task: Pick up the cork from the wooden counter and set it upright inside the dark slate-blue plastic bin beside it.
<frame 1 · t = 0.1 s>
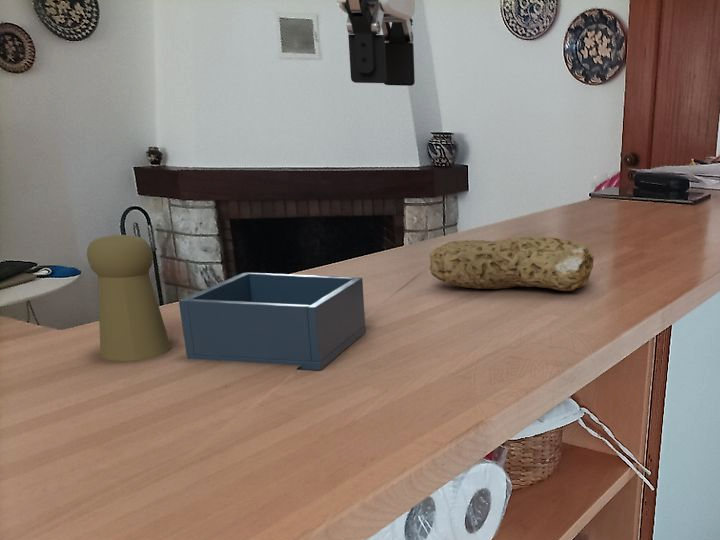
hand: (384, 84, 76), 24 cm above the counter, tool pointing down, fingers open, 9 cm apart
cork: (137, 357, 73), on the counter
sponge: (510, 289, 102), on the counter
bin: (282, 346, 76), on the counter
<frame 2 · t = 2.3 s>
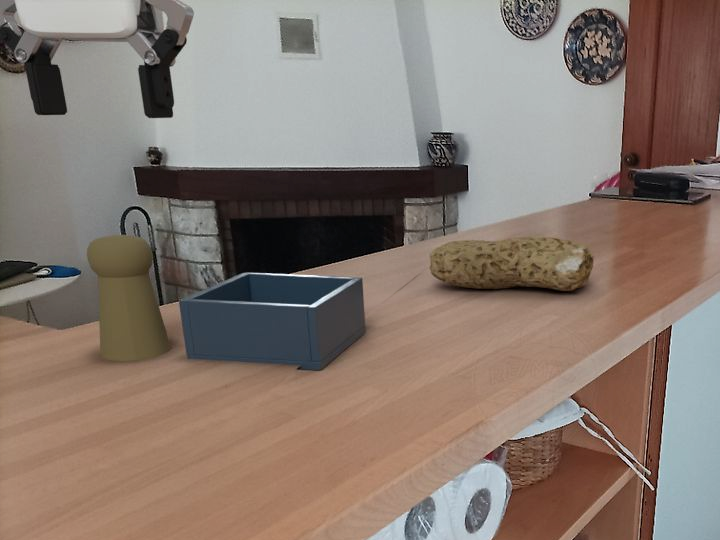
hand: (105, 116, 66), 21 cm above the counter, tool pointing down, fingers open, 9 cm apart
nothing on the counter moved.
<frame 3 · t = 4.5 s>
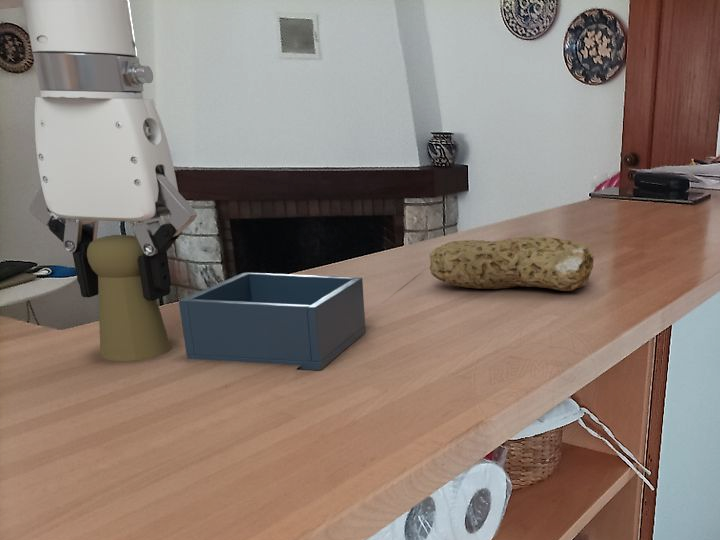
hand: (126, 293, 71), 6 cm above the counter, tool pointing down, fingers closed on cork, 5 cm apart
cork: (137, 357, 73), on the counter, touching gripper
everything else where it was.
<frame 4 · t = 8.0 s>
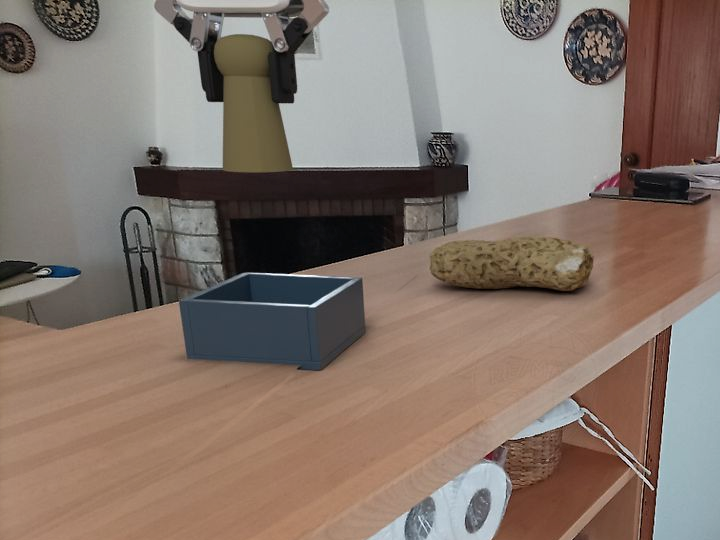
hand: (251, 100, 68), 22 cm above the counter, tool pointing down, fingers closed on cork, 5 cm apart
cork: (258, 171, 70), point 16 cm above the counter, touching gripper
everything else where it was.
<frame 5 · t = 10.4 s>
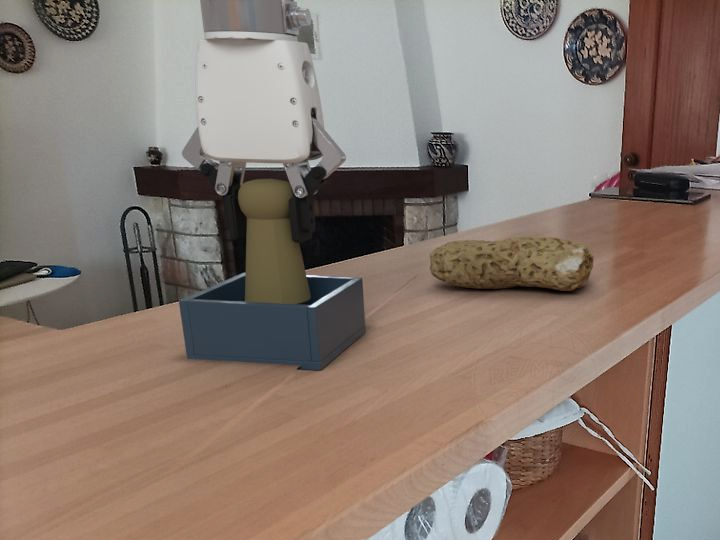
hand: (272, 237, 72), 11 cm above the counter, tool pointing down, fingers closed on cork, 5 cm apart
cork: (278, 300, 75), point 5 cm above the counter, touching gripper
everything else where it was.
when the fingers open (7 cm above the counter, at t = 11.9 s): cork stays where it is, resting on bin.
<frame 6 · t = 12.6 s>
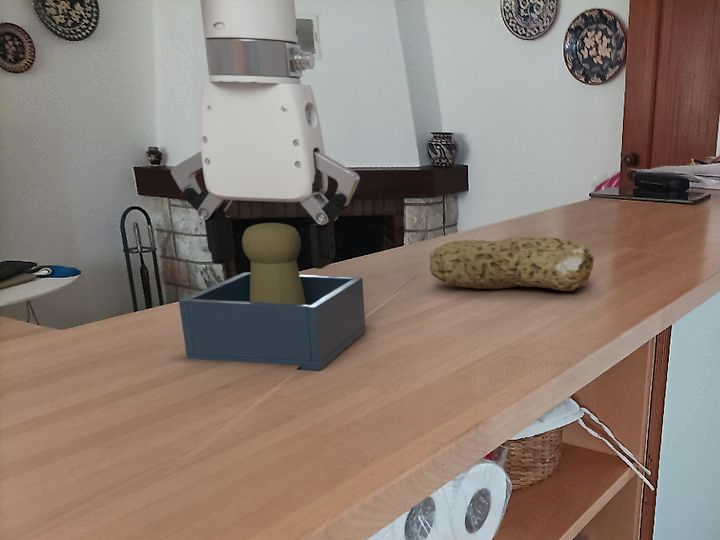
hand: (273, 263, 73), 8 cm above the counter, tool pointing down, fingers open, 9 cm apart
cork: (281, 340, 76), point 1 cm above the counter, touching bin
everything else where it was.
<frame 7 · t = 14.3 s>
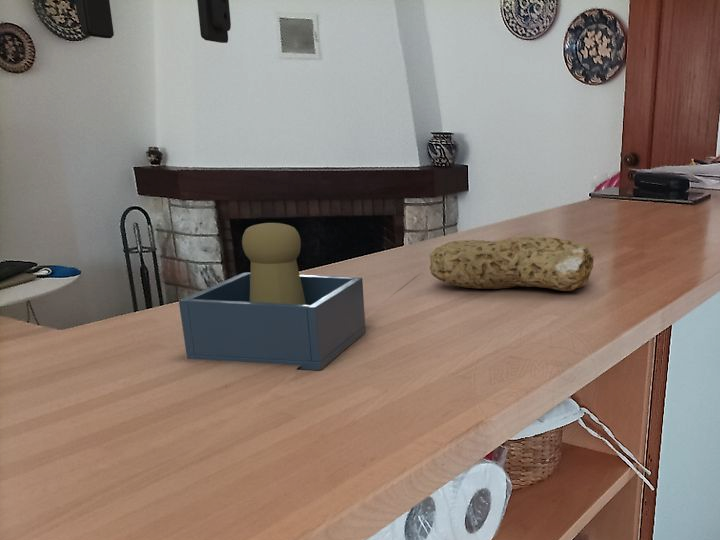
hand: (156, 39, 62), 27 cm above the counter, tool pointing down, fingers open, 9 cm apart
nothing on the counter moved.
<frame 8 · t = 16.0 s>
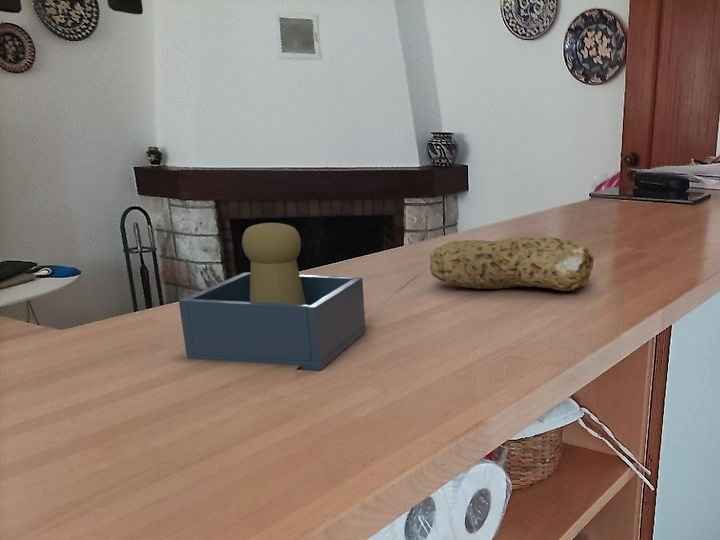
hand: (64, 11, 57), 28 cm above the counter, tool pointing down, fingers open, 9 cm apart
nothing on the counter moved.
at the end: cork inside the target area in the bin (0.1 cm from its centre), point 0.6 cm above the bin's base; cork tilted 0°; the gripper is holding nothing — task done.
